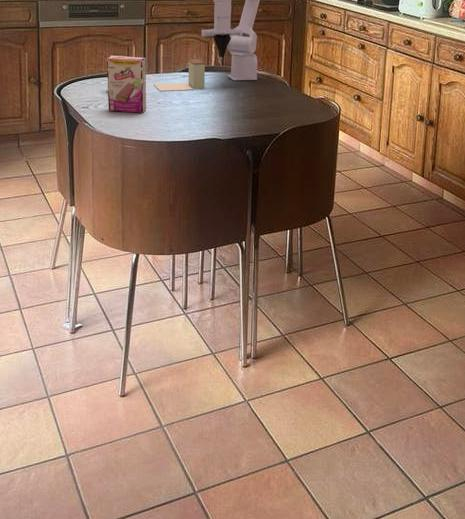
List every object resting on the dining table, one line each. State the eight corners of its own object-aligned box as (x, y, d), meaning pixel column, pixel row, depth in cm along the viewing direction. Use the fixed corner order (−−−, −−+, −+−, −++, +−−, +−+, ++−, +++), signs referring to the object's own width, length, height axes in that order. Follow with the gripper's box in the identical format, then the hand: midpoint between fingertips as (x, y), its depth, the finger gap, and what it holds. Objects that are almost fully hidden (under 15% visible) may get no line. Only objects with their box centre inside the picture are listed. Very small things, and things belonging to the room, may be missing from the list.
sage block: (199, 84, 265) (199, 59, 261) (204, 88, 259) (204, 62, 255) (188, 84, 264) (188, 59, 260) (193, 89, 258) (193, 63, 254)
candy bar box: (108, 111, 227) (105, 58, 220) (112, 107, 232) (110, 55, 224) (143, 113, 226) (142, 60, 219) (146, 109, 231) (145, 57, 223)
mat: (186, 83, 265) (186, 82, 265) (193, 90, 256) (193, 89, 256) (153, 84, 261) (153, 84, 261) (159, 91, 253) (159, 90, 253)
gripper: (205, 18, 247) (205, 59, 253) (246, 18, 251) (244, 58, 257) (200, 15, 253) (199, 55, 259) (239, 15, 257) (238, 54, 263)
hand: (221, 56), depth 259 cm, fingers closed
